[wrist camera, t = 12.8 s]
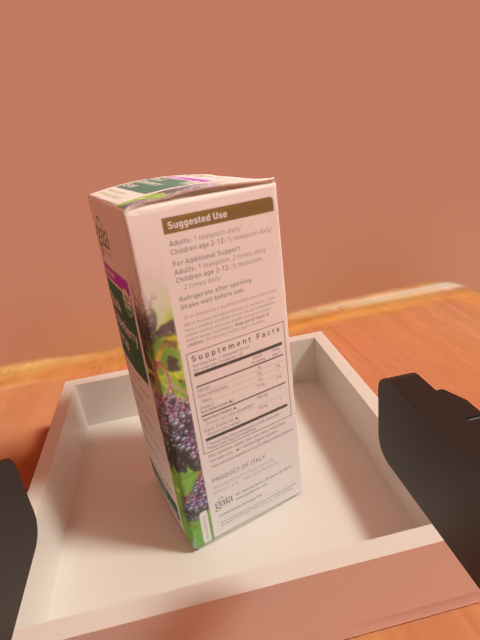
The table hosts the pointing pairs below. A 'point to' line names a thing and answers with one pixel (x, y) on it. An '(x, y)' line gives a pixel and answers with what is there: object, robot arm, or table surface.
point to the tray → (238, 545)
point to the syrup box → (205, 341)
